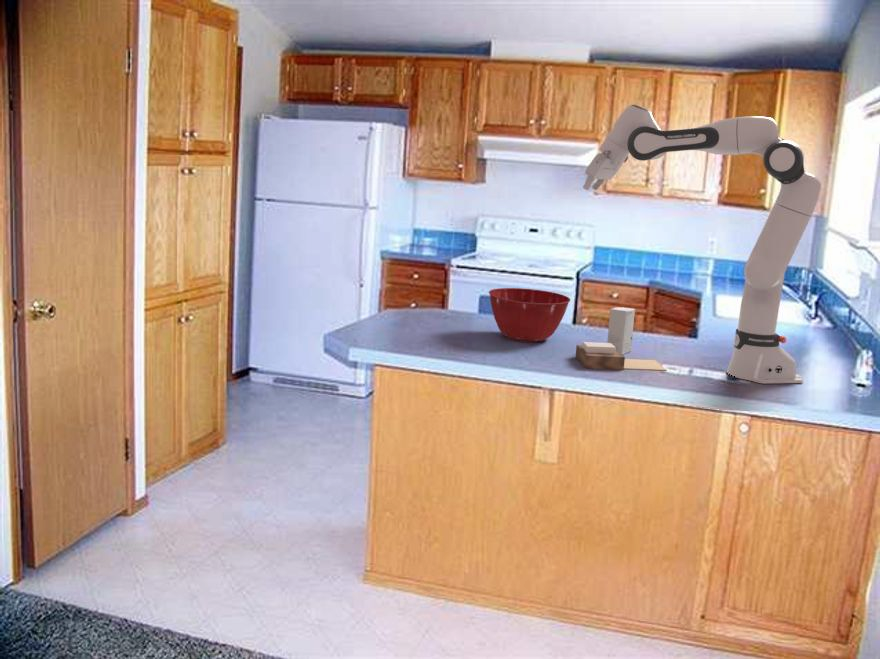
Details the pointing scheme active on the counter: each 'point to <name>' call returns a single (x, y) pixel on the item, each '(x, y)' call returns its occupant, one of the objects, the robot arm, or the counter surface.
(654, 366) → the mat
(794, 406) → the counter surface
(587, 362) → the brown box
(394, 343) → the counter surface
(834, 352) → the counter surface
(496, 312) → the mixing bowl
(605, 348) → the white rectangular prism
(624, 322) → the skincare box
